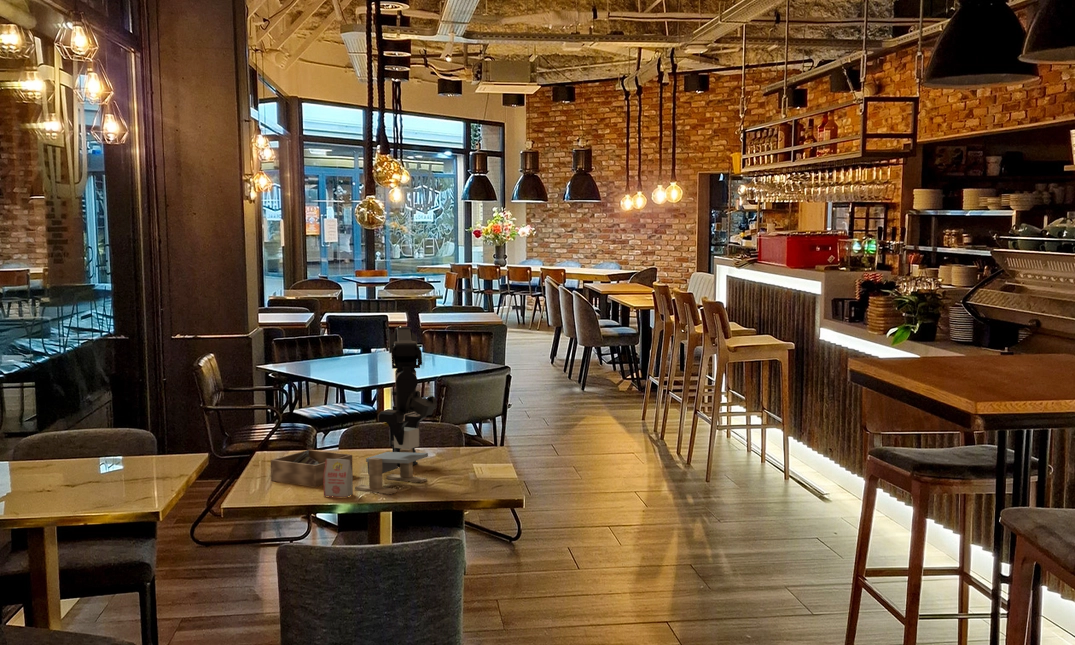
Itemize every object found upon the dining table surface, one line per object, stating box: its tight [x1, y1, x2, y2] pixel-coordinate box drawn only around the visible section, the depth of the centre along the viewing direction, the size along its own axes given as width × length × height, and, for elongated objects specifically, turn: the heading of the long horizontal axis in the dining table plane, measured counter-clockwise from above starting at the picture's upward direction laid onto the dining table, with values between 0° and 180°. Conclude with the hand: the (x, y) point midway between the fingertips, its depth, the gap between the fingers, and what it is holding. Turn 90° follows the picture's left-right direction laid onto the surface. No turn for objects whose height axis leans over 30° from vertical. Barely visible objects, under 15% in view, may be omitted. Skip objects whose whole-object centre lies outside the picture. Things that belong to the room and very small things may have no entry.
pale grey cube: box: [393, 427, 420, 449], centre depth 260 cm, size 5×5×5 cm
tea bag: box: [323, 459, 354, 498], centre depth 251 cm, size 4×7×10 cm, turn 79°
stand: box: [354, 449, 428, 495], centre depth 262 cm, size 12×18×9 cm
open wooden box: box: [270, 449, 354, 488], centre depth 272 cm, size 16×16×6 cm
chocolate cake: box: [293, 449, 319, 465], centre depth 273 cm, size 10×7×12 cm
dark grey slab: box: [365, 451, 429, 475], centre depth 261 cm, size 14×10×5 cm
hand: (406, 443), depth 260 cm, fingers closed on pale grey cube, 5 cm apart
